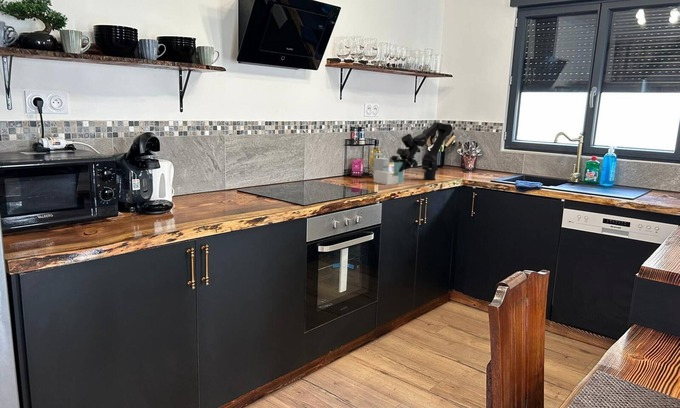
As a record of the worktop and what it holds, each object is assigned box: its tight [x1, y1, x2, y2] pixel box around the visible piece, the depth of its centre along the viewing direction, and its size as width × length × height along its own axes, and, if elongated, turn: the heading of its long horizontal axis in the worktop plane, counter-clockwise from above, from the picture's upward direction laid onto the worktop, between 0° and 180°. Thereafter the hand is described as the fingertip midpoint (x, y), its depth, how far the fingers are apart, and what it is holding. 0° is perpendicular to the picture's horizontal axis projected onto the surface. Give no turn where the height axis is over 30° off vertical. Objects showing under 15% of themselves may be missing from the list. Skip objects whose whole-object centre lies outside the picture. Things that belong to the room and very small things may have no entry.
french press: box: [370, 137, 384, 176], centre depth 340 cm, size 10×12×25 cm
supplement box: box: [372, 157, 390, 179], centre depth 328 cm, size 7×7×13 cm
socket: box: [373, 170, 399, 186], centre depth 305 cm, size 10×12×7 cm
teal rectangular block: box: [391, 162, 404, 184], centre depth 310 cm, size 6×4×12 cm
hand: (396, 171), depth 309 cm, fingers closed on teal rectangular block, 4 cm apart
